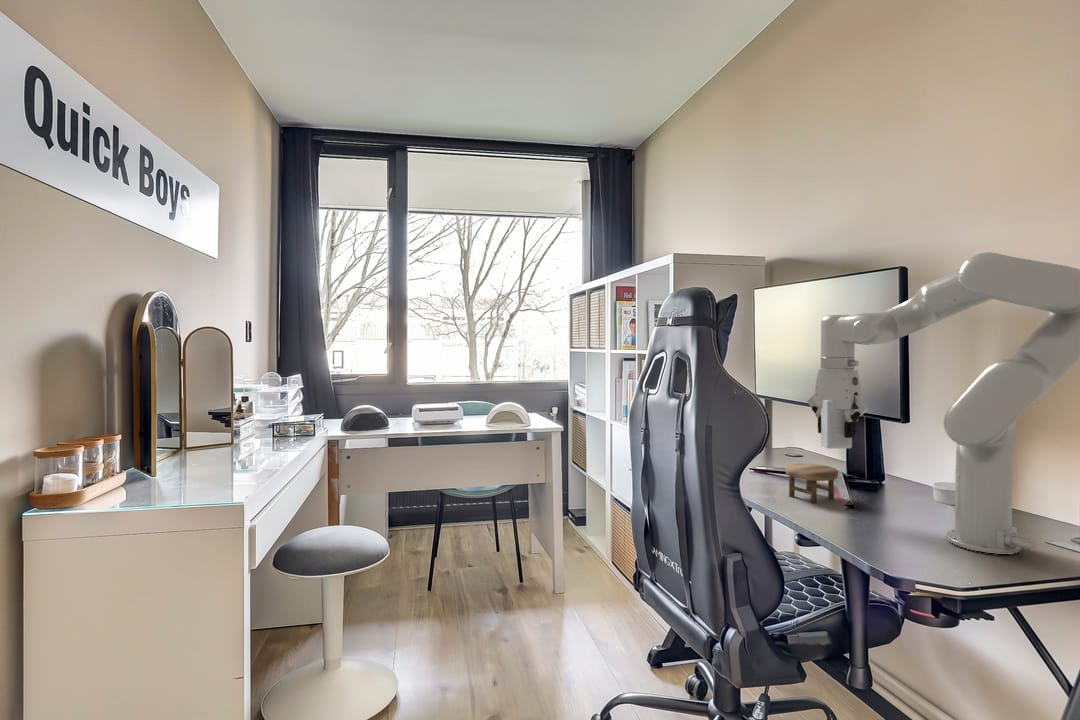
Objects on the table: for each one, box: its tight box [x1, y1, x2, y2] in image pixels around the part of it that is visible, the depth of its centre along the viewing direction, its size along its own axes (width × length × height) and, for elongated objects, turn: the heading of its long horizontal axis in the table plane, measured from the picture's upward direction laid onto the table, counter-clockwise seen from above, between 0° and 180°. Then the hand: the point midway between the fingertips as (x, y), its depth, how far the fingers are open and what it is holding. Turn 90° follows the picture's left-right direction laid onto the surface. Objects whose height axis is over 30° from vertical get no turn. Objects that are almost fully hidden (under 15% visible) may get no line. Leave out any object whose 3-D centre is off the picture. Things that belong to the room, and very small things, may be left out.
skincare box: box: [820, 400, 853, 449], centre depth 144 cm, size 6×4×12 cm
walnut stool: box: [785, 463, 839, 505], centre depth 158 cm, size 13×13×8 cm
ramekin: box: [931, 481, 955, 506], centre depth 152 cm, size 9×9×4 cm
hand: (836, 434), depth 144 cm, fingers closed on skincare box, 6 cm apart
